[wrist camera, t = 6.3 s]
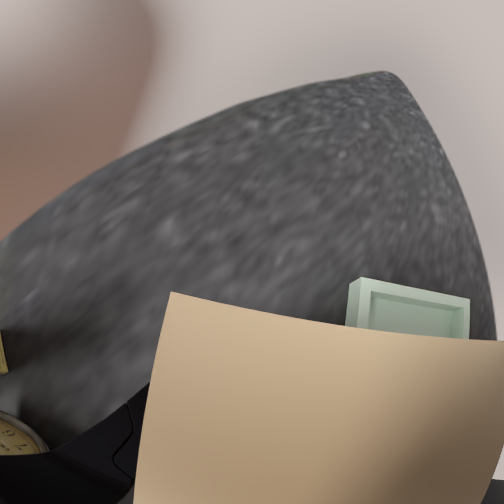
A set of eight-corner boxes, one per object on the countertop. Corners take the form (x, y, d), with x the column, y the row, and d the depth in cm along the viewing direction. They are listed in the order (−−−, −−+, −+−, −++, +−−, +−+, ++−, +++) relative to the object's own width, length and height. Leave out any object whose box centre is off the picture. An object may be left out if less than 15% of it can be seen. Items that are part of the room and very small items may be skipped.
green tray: (439, 427, 15) (454, 431, 13) (323, 436, 15) (333, 444, 13) (454, 304, 19) (469, 299, 17) (349, 284, 19) (361, 276, 17)
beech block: (295, 421, 13) (453, 550, 1) (206, 407, 13) (131, 576, 1) (309, 355, 15) (520, 341, 2) (220, 340, 15) (171, 291, 2)
